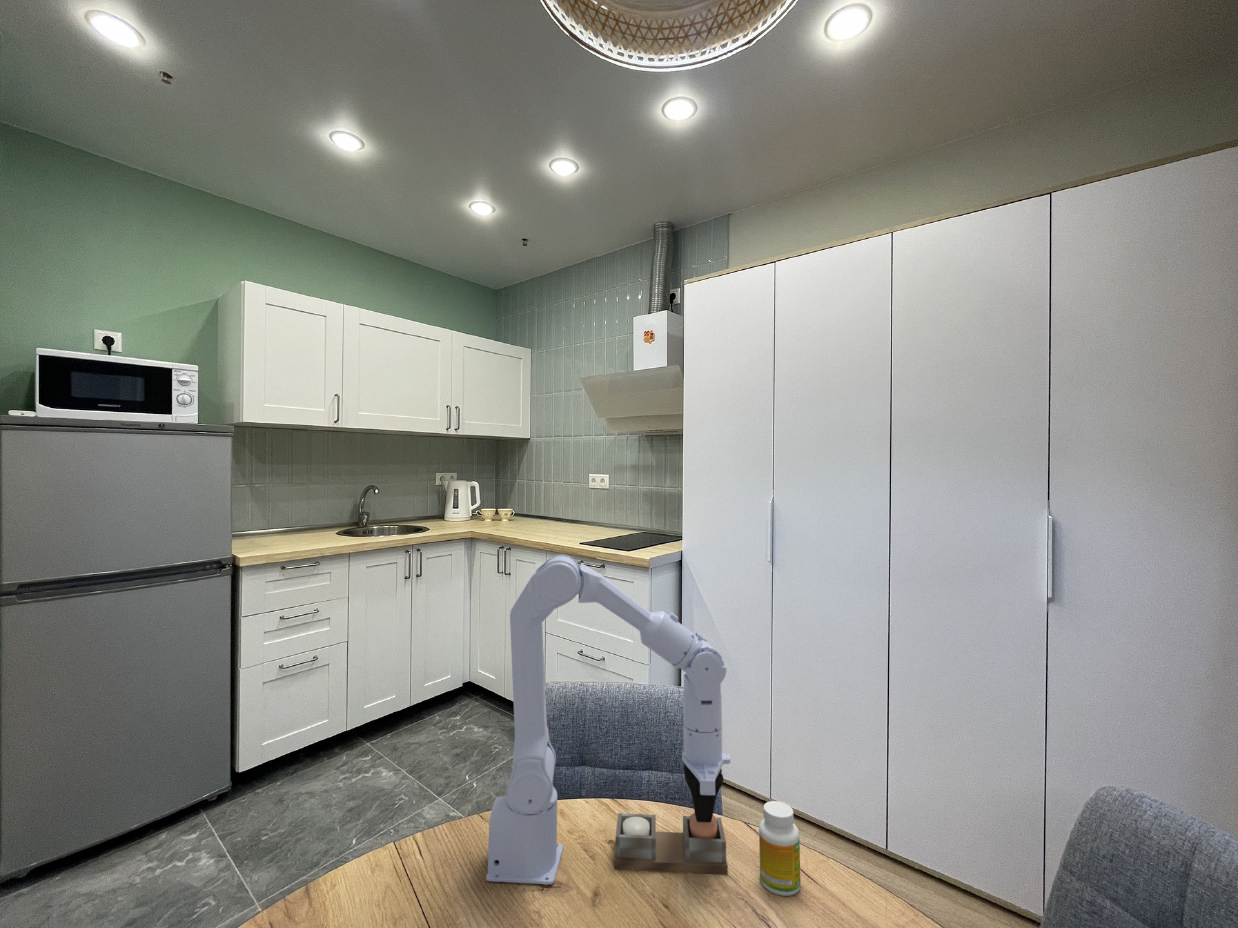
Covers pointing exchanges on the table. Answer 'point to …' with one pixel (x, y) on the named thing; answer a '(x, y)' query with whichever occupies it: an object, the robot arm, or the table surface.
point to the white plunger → (636, 826)
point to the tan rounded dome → (703, 828)
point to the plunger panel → (669, 849)
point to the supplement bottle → (779, 850)
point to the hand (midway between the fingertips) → (703, 819)
